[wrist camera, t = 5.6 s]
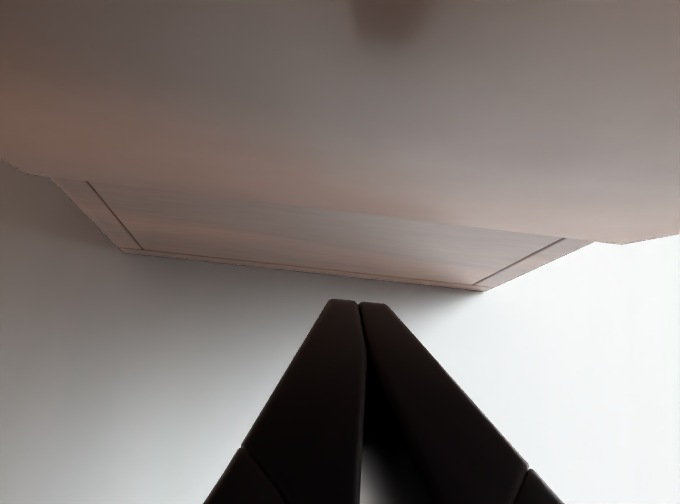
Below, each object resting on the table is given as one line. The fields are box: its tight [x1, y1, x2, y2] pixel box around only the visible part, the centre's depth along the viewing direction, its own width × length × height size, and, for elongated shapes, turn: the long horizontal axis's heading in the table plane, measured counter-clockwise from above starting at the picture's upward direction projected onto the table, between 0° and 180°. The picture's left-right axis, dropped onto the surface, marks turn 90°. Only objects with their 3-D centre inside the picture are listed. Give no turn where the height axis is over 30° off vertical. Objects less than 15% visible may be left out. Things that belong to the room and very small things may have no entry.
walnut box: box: [49, 177, 595, 291], centre depth 18 cm, size 13×13×8 cm
